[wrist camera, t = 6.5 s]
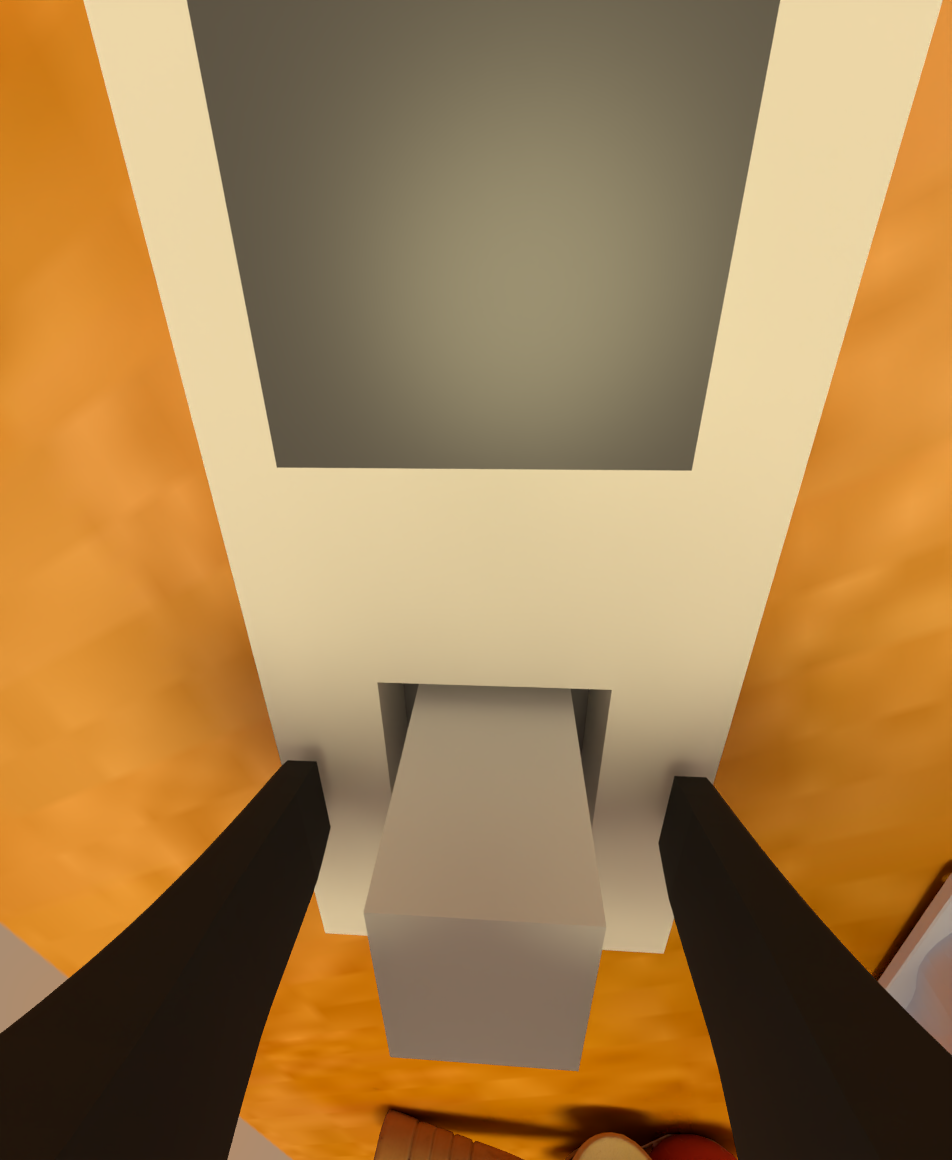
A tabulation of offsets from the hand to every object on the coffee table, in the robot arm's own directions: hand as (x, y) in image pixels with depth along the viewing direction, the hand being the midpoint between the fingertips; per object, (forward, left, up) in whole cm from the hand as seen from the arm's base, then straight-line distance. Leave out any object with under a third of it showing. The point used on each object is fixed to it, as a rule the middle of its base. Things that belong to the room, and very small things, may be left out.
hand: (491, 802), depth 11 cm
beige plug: (0, 0, -2) cm, 2 cm away
